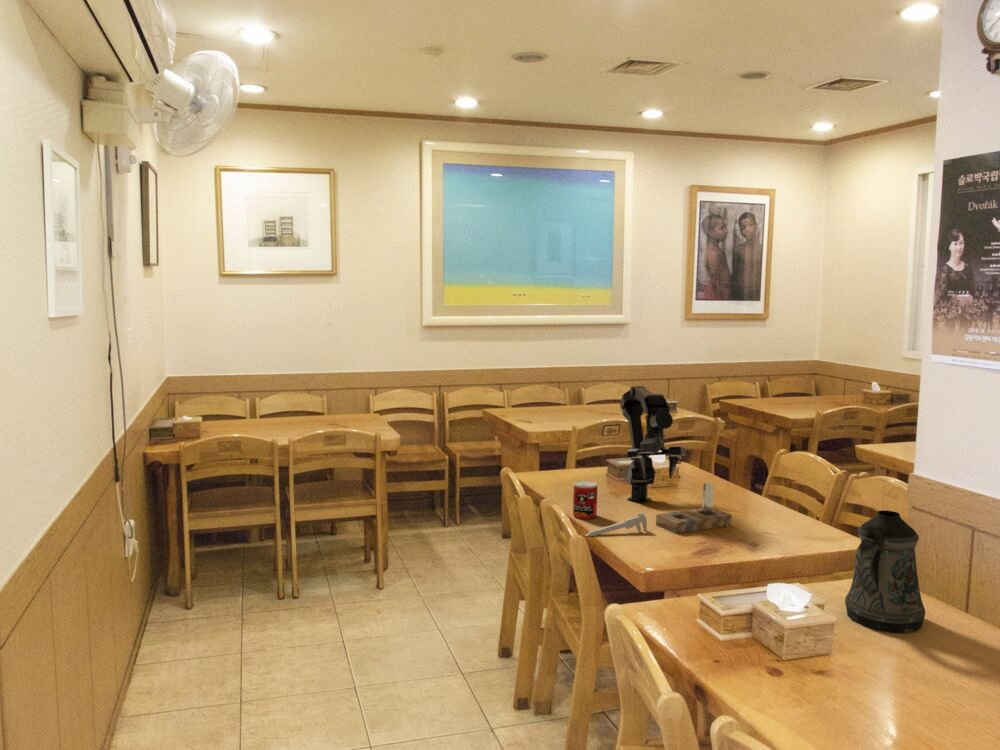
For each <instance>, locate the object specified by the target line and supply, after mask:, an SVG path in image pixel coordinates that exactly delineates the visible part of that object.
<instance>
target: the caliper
mask: <svg viewBox="0 0 1000 750" xmlns="http://www.w3.org/2000/svg"><path fill="white" fill-rule="evenodd" d="M637 515H638V516H634V517H630V518H627V519H624V520H623V521H621V522H618V523H615V524H611V525H608V526H605V527H601V528H597V529H594V530H590V531H588V533H586V534H585V535H584V536H585V537H596V536H600V535H603V534H606V533H609V532H613V531H616V530H619V529H620V530H621V529H623V528H625V529H626V530H629V529H632V528H633V527H636V529H637V531H638V532H639V531H641V532H642V529H643V531H644V532H646V531H647V530H648V529H647V527H648V526H647V525H648V523H647V522H648V521H647V517H646V515H645V514H644V512H642V511H641V512H637ZM641 525H642V528H641Z"/></svg>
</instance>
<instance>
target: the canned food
mask: <svg viewBox="0 0 1000 750" xmlns="http://www.w3.org/2000/svg"><path fill="white" fill-rule="evenodd" d="M572 496H573V497H572V499H573V501H572V502H573V503H572V513H573V517H574V518H576V517H577V518H576V519H579V518H581V519H580V520H592V519H594V517H595V518H596V516H597V511H598V509H597V507H598V483H597V482H595V481H592V480H577V481H575V482H573V495H572ZM591 518H592V519H591Z"/></svg>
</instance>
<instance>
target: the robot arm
mask: <svg viewBox="0 0 1000 750" xmlns="http://www.w3.org/2000/svg"><path fill="white" fill-rule="evenodd" d="M619 405H620V406H619V408H620V409H621V413H622V416H623V417H624V418H625V419H626V420H627V423H628V429H629V437H630V444H631V448H628V449H627V450H626V458H628V459H629V458H630V460H631V462H630V464H629V469H628V472H627V474H626V482H627V484H629V485H631V495H630V497H628V498H627V499H626V500H628V501H631V502H632V501H633V502H636V503H637V502H638V503H641V504H642V503H643V504H645V503H647V502H648V501H651V500H652V497H648V494H649V491H648V490H649V485H654V482H655V476H656V470H655V467H654V466H653V458H652V457H651V456H662V455H669V456H667V457H668V463H669V464H668V465H669V466H668V467H669V468H668V469H669V470H668V475H669V479H672V478H673V476H674V473H675V470H676V467H677V466H678V465H677V464H678V462H679V461H680V459H683V457H685V456H686V455H687V452H686V451H687V450H686V448H685V447H684V446H669V448H667V447H666V446H665V438H666V434H665V430H667V429H668V428H670V427H672V424H673V422H674V421H673V420H674V419H673V416H672V415H671V413H670V409H671V407H670V405H669V404H668V401H667V400H666V397H665V396H664V394H662V393H660V394H659V393H653V392H651V391H650V390H648V389H647V388H646V386H643V385H637V386H636V385H633V386H630V388H629V390H628V391H626V392H625V393H623V394H622V396H621V399H620V401H619ZM643 413H645V414H646V415H645V417H644V419H645V429H646V430H645V431H646V432H645V433H646V434H644V431H643V425H642V415H643ZM666 448H667V449H666ZM682 456H683V457H682Z"/></svg>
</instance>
